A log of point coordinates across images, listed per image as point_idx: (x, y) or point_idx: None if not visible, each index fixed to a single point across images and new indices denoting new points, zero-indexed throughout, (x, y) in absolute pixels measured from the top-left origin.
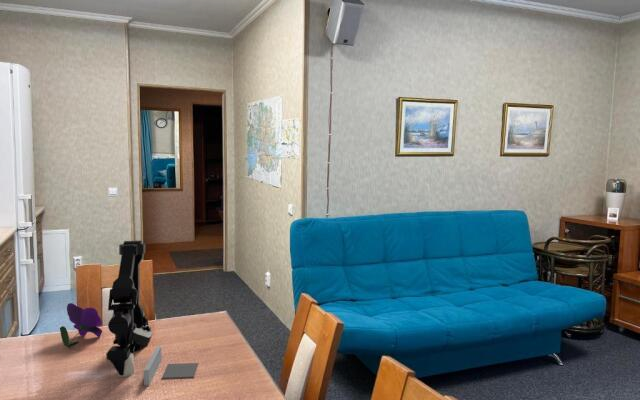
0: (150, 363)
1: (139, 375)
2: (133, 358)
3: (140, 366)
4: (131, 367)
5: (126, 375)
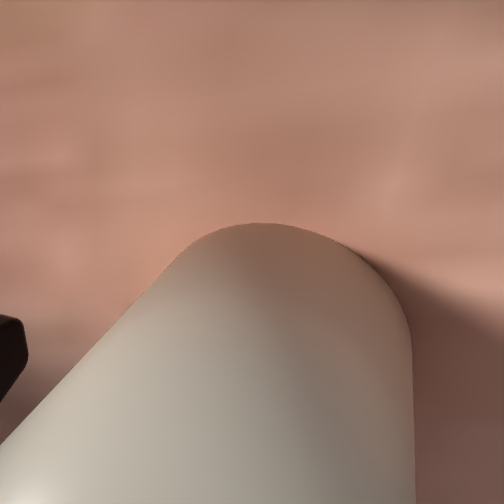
0: None
1: (444, 99)
2: (123, 449)
3: (37, 128)
4: (342, 348)
5: (409, 349)
